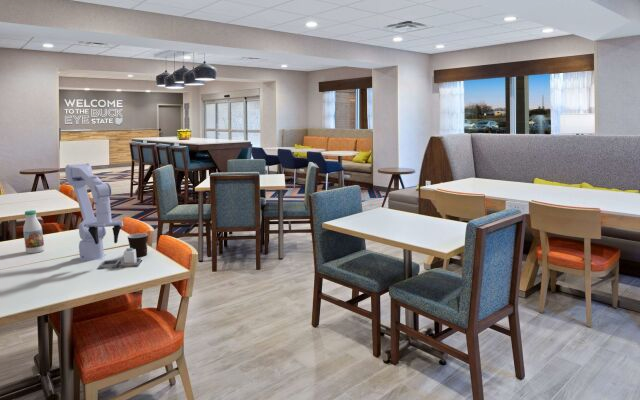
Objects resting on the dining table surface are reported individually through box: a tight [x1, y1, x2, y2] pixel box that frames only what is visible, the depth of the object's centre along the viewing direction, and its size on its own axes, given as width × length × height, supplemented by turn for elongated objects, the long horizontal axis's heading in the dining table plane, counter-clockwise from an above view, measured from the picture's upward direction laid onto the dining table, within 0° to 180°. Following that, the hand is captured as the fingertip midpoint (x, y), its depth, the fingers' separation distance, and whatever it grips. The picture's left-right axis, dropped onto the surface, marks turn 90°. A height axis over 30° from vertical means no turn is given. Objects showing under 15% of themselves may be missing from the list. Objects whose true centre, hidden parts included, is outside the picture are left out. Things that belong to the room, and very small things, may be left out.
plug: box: [123, 247, 138, 263], centre depth 199 cm, size 4×4×7 cm
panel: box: [97, 257, 143, 271], centre depth 199 cm, size 16×10×2 cm, turn 99°
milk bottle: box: [22, 209, 45, 254], centre depth 222 cm, size 8×8×20 cm
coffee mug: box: [127, 232, 149, 259], centre depth 213 cm, size 12×9×10 cm
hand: (106, 243), depth 198 cm, fingers open, 7 cm apart
